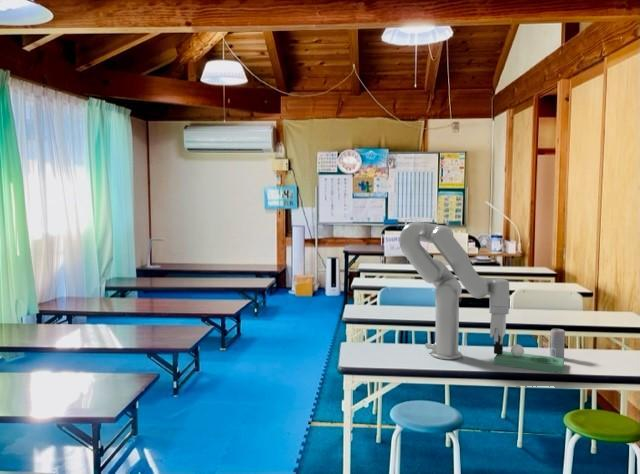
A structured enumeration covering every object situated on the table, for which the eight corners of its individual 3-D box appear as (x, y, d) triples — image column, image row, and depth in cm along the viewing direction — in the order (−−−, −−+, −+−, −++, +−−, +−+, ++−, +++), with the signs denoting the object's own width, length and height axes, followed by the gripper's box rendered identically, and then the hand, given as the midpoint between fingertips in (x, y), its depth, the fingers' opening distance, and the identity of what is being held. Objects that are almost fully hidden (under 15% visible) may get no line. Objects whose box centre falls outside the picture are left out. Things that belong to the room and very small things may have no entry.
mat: (494, 364, 220) (494, 357, 220) (498, 356, 231) (499, 350, 231) (561, 373, 209) (562, 366, 209) (563, 364, 220) (563, 358, 220)
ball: (509, 357, 221) (510, 345, 220) (511, 354, 225) (511, 342, 225) (523, 359, 219) (523, 346, 218) (524, 355, 223) (524, 343, 223)
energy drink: (560, 356, 231) (561, 328, 230) (566, 360, 226) (567, 331, 225) (547, 356, 231) (548, 328, 230) (553, 360, 225) (554, 331, 225)
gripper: (492, 305, 231) (491, 348, 233) (486, 312, 218) (485, 357, 219) (511, 306, 228) (510, 350, 229) (505, 313, 215) (505, 359, 216)
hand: (498, 353), depth 224 cm, fingers closed
